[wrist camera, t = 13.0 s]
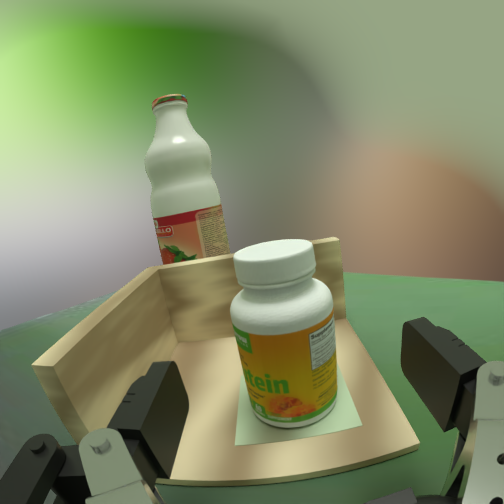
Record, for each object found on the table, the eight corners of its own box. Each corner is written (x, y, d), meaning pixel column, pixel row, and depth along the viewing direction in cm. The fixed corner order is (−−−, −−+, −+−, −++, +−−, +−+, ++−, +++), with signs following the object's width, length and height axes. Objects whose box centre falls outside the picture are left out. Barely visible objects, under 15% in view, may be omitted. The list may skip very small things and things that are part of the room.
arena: (99, 474, 12) (31, 364, 10) (168, 341, 29) (148, 267, 27) (417, 449, 11) (444, 316, 9) (342, 316, 28) (334, 236, 26)
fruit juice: (247, 294, 40) (210, 84, 34) (179, 314, 36) (137, 91, 30) (224, 279, 48) (193, 107, 42) (168, 295, 45) (134, 115, 39)
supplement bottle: (234, 410, 17) (196, 261, 15) (286, 368, 21) (265, 236, 18) (305, 443, 13) (283, 268, 11) (353, 386, 17) (345, 235, 15)
